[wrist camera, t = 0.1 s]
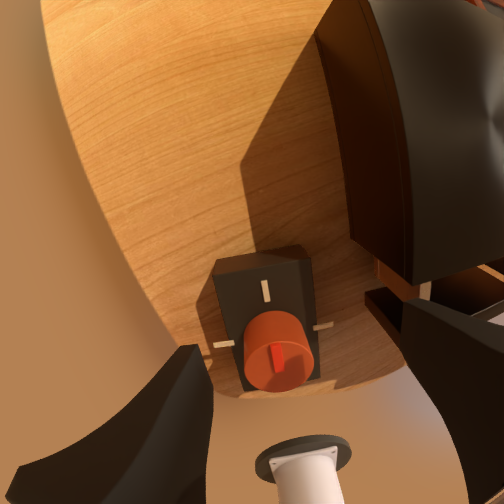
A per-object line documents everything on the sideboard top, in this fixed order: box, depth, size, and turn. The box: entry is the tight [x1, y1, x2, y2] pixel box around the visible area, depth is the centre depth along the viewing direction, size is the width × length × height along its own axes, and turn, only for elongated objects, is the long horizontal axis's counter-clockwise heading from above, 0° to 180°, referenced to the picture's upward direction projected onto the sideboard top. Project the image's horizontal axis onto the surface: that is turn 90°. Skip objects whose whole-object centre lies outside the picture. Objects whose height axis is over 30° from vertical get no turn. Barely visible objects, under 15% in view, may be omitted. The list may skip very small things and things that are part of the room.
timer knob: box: [244, 311, 314, 392], centre depth 16 cm, size 4×4×4 cm
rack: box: [365, 257, 504, 367], centre depth 15 cm, size 18×11×7 cm, turn 10°
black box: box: [314, 0, 504, 286], centre depth 13 cm, size 16×13×9 cm
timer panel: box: [212, 244, 334, 392], centre depth 20 cm, size 10×8×3 cm
